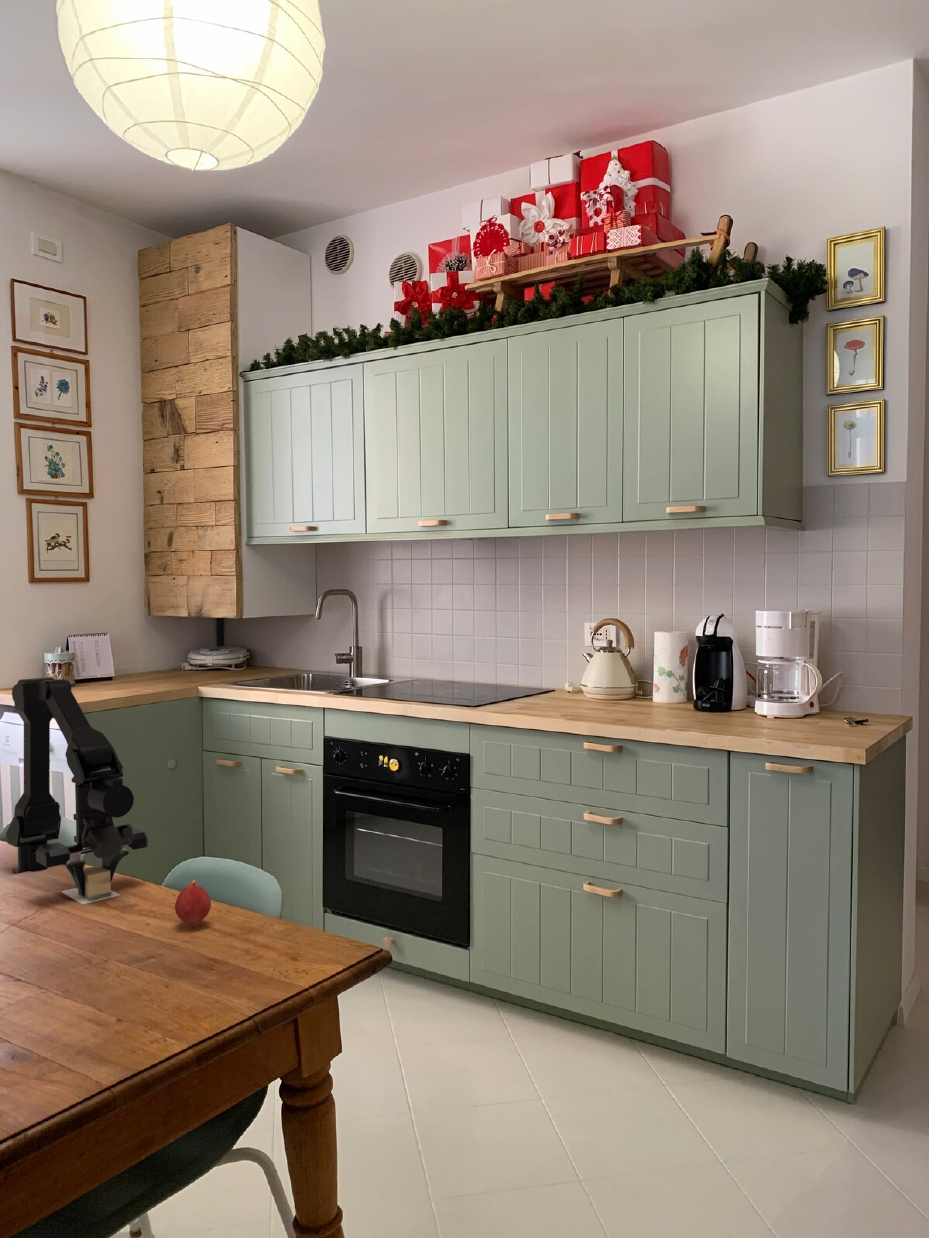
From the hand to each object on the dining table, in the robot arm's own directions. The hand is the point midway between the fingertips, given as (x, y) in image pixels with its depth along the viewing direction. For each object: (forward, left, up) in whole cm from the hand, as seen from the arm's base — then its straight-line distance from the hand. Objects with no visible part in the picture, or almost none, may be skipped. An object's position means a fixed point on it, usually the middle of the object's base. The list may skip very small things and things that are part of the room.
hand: (94, 892), depth 173 cm
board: (-2, 0, -1) cm, 2 cm away
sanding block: (0, 0, 0) cm, 0 cm away
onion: (+25, +6, -2) cm, 26 cm away
